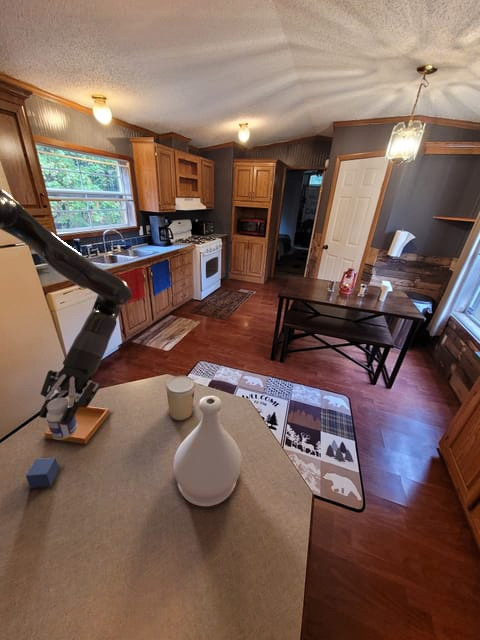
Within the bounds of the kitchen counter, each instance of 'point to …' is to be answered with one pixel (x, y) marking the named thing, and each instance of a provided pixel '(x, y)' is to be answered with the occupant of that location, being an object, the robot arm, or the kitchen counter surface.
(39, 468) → the blue block
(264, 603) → the kitchen counter surface
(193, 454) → the vase
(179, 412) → the cream upright cylinder
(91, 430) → the amber tray
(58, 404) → the pill bottle
